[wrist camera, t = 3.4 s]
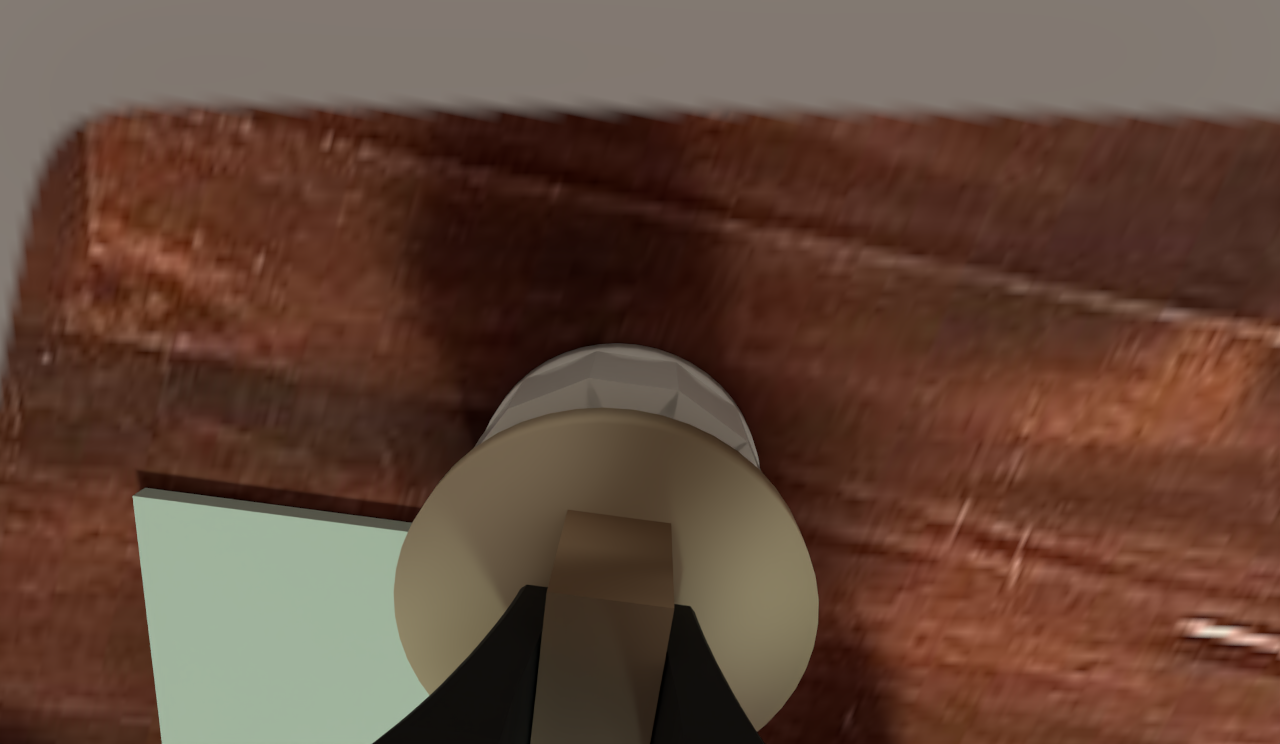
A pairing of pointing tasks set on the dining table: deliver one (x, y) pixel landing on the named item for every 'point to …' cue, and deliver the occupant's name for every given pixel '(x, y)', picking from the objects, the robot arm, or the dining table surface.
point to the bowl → (626, 391)
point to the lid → (610, 567)
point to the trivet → (272, 621)
